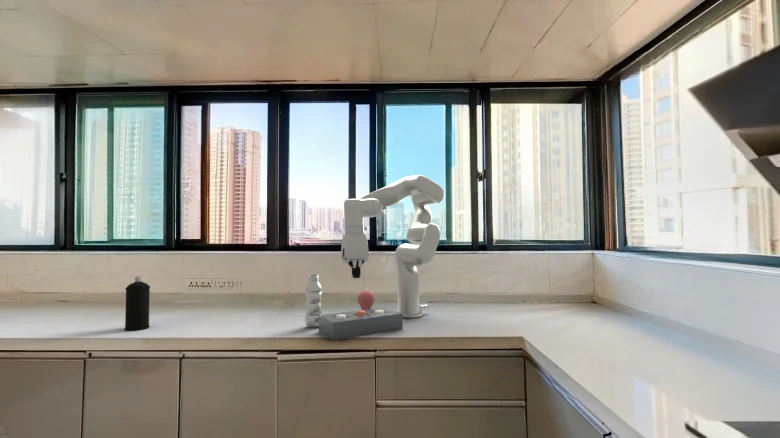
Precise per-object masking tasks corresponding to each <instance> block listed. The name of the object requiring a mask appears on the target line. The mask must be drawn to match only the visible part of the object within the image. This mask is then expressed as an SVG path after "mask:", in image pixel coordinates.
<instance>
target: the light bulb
mask: <svg viewBox="0 0 780 438" xmlns="http://www.w3.org/2000/svg"><path fill="white" fill-rule="evenodd" d="M357 301H358V305H359V306H360V308H361V309H360V310H367V309H372V306H373V304H374V302H375V294H373V292H372V291H371V290H368V289H365V290H364V289H363V290H362V291H361V292H360V293H358V296H357Z"/></svg>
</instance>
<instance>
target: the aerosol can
mask: <svg viewBox="0 0 780 438" xmlns="http://www.w3.org/2000/svg"><path fill="white" fill-rule="evenodd" d="M150 288H151V286H150V285H149V284H148V283H147V282H144V281H142V276H141V275H140V276H139V275H138V276H135V277H134V282H131V283H130V284H128V285H127V286H126V287H125V315H124V316H125V323H124V331H127V332H136V331H137V332H138V331H142V330H147V329H149V328H150V327H151V326H150V293H151V292H150Z"/></svg>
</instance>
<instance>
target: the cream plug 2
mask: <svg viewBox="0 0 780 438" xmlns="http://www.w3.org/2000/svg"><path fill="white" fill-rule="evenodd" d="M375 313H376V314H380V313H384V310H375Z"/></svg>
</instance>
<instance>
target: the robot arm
mask: <svg viewBox="0 0 780 438" xmlns="http://www.w3.org/2000/svg"><path fill="white" fill-rule="evenodd" d="M445 196H446V195H445V190H444V189H443V187H442V186H441V185H440V184H438V183H437V182H435V181H434V180H432V179H431V178H428V177H426V176H424V175H422V174H417V175H415V174H414V175H410V176H405V177H402V178H400V179H399V180H396V181H394V182H393V183H390V184H389V185H386V186H384V187H382V188H380V189H377V190H374V191H372V192H369V193H367V194H364V195H363V196H360V197H358V198H349V199H345V200H344V202H343V212H344V213H343V214H344V234H343V235H342V240H341V247H340V248H341V252H340V256H341V260H342V263H343V264H345V265H348V266H349V267H350V268H351V276H352V278H353V279H360V278H361V273H362V272H361V268H362V265H363V264H364V263H367V262H368V261H369V256H370V255H369V252H370V251H369V242H368V237H367V234H366V233H365V232H366V231H367V230H368V227H367V226H366V227H365V218H375V217H378V216H379V215H381V214H382V212H383V210H384V208H386V207H391V206H394V205H397V204H398V203H400V202H402V201H403V200H405V199H407V198H409V197H410V198H411V203H412V205H413V209H414V213H413V217H412V219H411V222H410V225H409V226H408V229H407V232H406V240H407V241H408V242H409V243H402V244H400V245H398V246H397V248H396V250H395V252H394V257H395V258H394V259H395V262H396V263H395V264H396V268H397V269H396V270H397V271H396V272H397V310H396V312H399V313H402V319H403V318H404V319H405V318H406V319H407V318H408V319H411V318H415V319H416V318H420V317H422V316H423V311H424V310H428V309H429V305H428V304H420V273H419V270H418V268H417V267H427V266H428V265H430V264H431V262H432V260H433V259H434V256H435V254H436V251H437V248H438V245H439V243H440V238H441V229H440V227H439V226H438V225H437V224H435V223H433V222H432V220H433V215H432V211H431V208H430V207H429V205H438V204H440V203H443V201H444V199H445Z"/></svg>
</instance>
